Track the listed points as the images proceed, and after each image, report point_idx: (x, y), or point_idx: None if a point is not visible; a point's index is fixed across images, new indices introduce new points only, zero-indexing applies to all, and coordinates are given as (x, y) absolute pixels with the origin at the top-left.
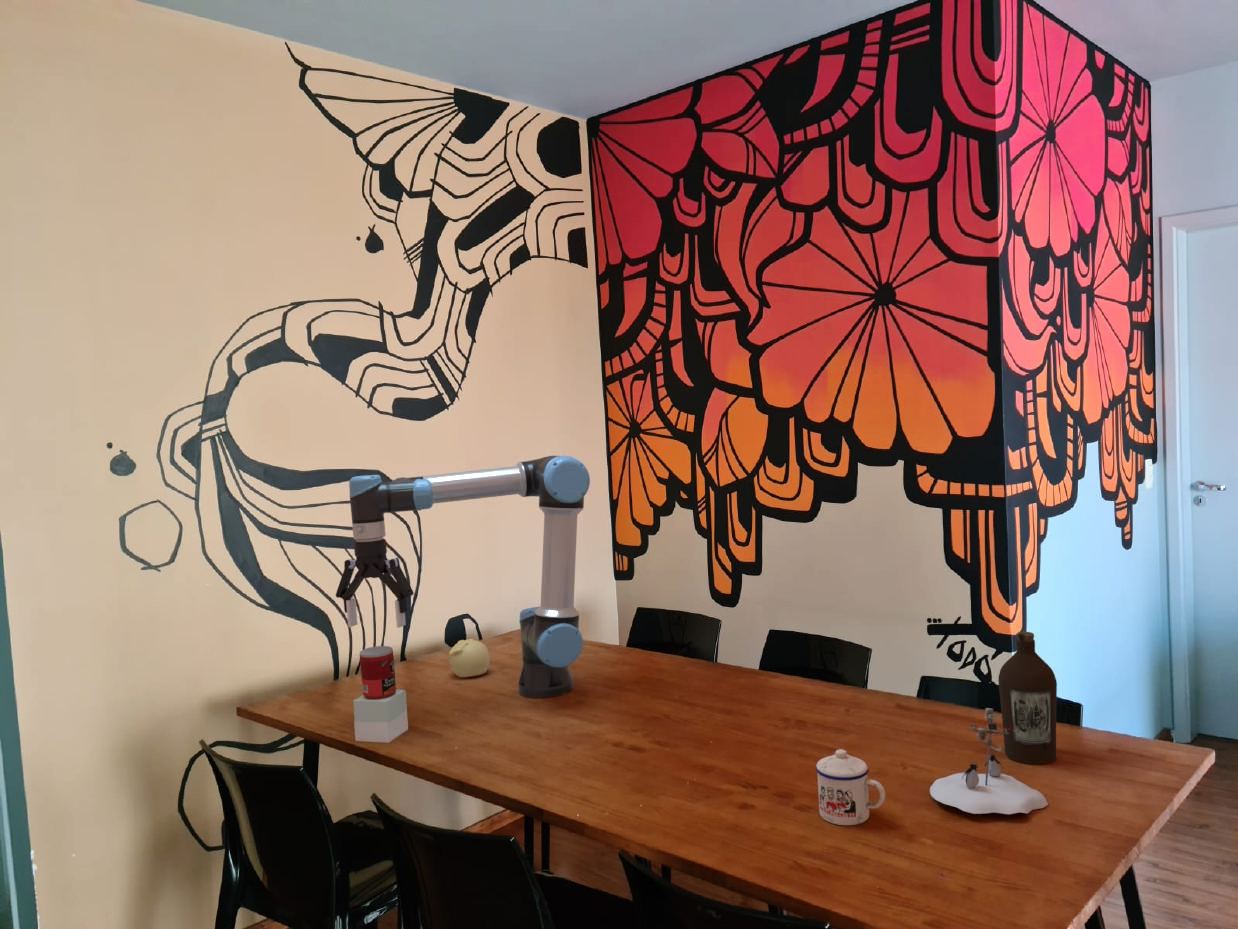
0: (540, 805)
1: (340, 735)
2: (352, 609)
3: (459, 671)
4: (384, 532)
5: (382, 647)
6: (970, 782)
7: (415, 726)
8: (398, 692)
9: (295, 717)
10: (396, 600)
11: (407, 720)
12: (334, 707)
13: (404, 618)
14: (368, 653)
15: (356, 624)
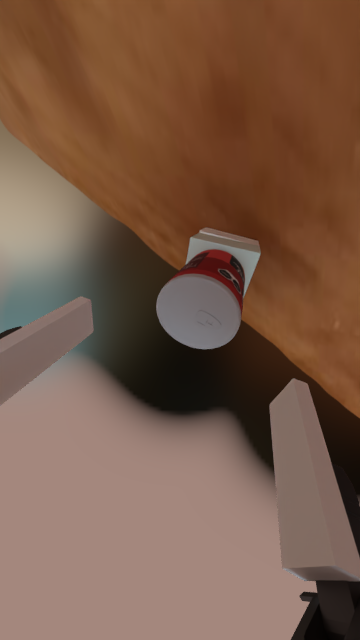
0: None
1: (167, 252)
2: (37, 357)
3: None
4: None
5: (202, 285)
6: None
7: (269, 228)
8: (248, 269)
9: (69, 161)
10: (296, 575)
11: (258, 243)
12: (94, 95)
13: (311, 414)
14: (180, 322)
15: (90, 305)
